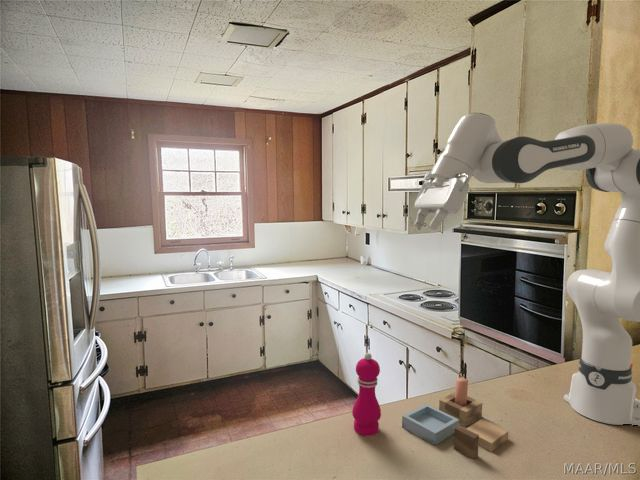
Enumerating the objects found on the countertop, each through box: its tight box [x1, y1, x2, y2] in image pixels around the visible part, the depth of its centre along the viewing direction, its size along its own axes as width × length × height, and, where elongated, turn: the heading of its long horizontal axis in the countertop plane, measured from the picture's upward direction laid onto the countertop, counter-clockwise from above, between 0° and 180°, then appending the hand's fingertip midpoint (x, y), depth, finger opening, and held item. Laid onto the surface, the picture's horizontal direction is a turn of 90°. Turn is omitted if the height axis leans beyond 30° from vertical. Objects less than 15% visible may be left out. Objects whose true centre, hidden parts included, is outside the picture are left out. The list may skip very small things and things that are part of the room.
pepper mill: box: [351, 352, 382, 437], centre depth 105 cm, size 7×7×20 cm
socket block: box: [438, 391, 483, 427], centre depth 113 cm, size 8×8×4 cm
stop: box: [453, 425, 479, 459], centre depth 97 cm, size 2×5×5 cm, turn 39°
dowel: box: [454, 377, 469, 407], centre depth 113 cm, size 3×3×10 cm
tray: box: [401, 403, 460, 446], centre depth 106 cm, size 10×10×3 cm
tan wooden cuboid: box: [465, 418, 509, 452], centre depth 103 cm, size 8×7×2 cm
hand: (424, 228), depth 100 cm, fingers open, 8 cm apart
